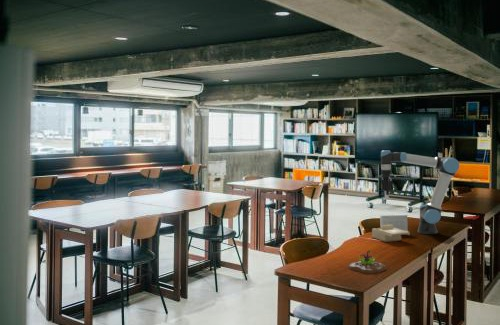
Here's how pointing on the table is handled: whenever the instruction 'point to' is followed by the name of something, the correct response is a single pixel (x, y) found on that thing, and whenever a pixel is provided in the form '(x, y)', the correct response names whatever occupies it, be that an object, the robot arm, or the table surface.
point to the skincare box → (395, 221)
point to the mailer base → (385, 236)
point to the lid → (391, 230)
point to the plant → (367, 265)
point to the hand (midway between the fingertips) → (386, 198)
